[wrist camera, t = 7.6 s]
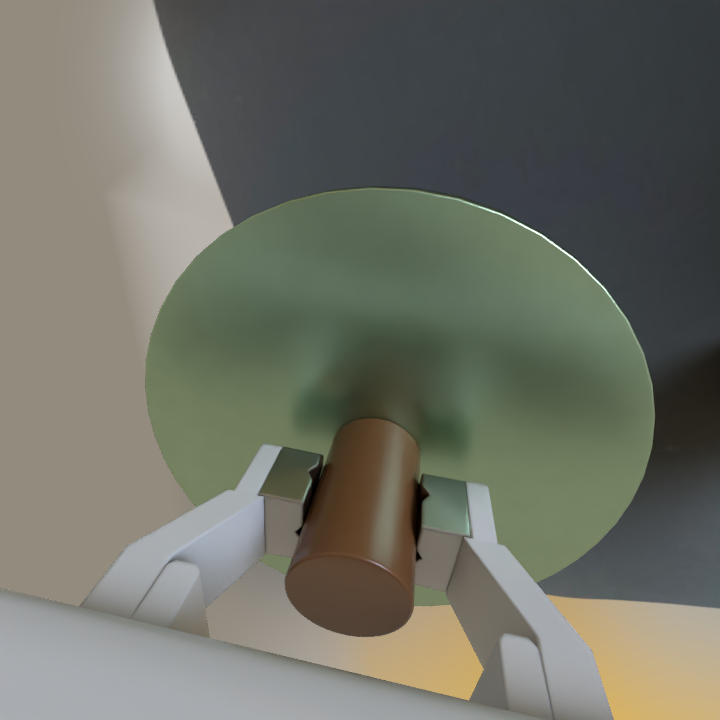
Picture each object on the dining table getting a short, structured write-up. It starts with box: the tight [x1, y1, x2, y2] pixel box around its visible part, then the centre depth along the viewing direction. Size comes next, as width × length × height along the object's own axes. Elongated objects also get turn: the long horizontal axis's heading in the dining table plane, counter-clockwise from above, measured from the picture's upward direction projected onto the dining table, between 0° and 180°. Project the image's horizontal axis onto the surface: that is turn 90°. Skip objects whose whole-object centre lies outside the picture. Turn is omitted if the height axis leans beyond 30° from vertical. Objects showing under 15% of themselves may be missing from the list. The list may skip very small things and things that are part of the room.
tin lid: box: [145, 186, 655, 637], centre depth 9 cm, size 13×13×5 cm
